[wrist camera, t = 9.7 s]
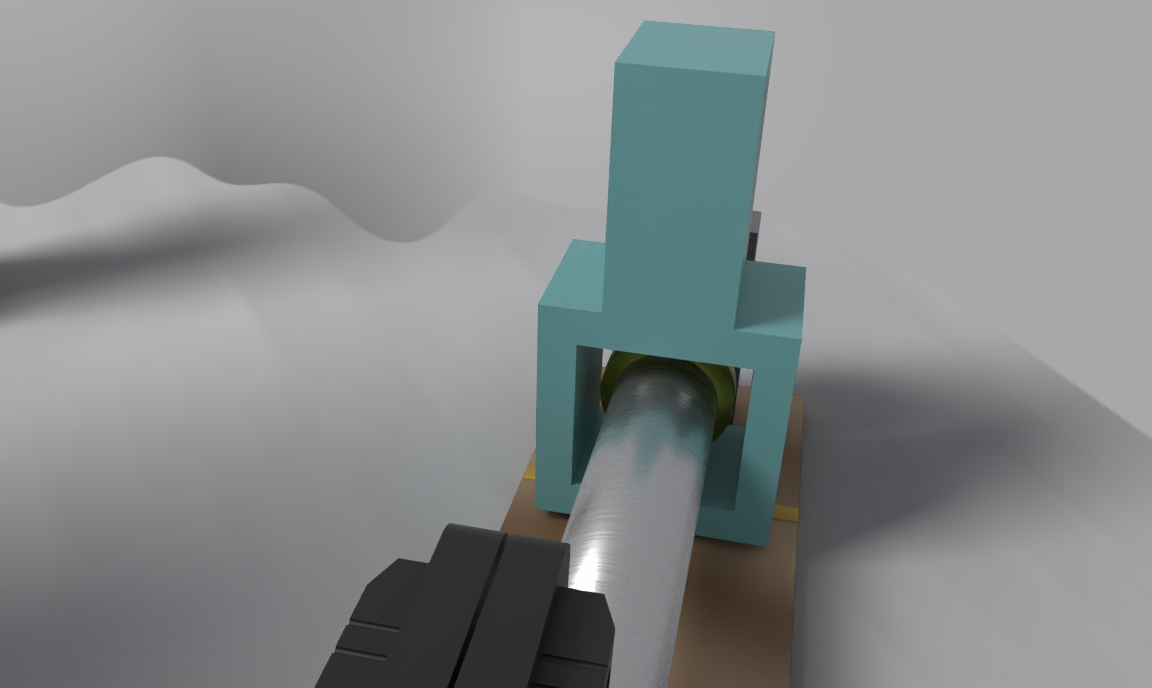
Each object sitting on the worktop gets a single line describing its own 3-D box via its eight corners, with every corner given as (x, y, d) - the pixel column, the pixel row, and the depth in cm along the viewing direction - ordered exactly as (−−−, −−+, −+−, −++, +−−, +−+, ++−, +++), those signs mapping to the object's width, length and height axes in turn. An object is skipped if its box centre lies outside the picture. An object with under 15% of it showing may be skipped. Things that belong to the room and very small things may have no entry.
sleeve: (767, 546, 28) (843, 83, 21) (534, 508, 29) (542, 55, 23) (775, 459, 31) (842, 37, 25) (566, 428, 32) (580, 15, 26)
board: (769, 1022, 18) (773, 1002, 18) (343, 918, 20) (340, 898, 19) (801, 410, 35) (804, 394, 35) (572, 377, 37) (572, 361, 36)
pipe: (666, 927, 19) (700, 666, 16) (458, 879, 20) (447, 619, 16) (742, 402, 34) (768, 212, 31) (623, 385, 35) (636, 197, 32)
